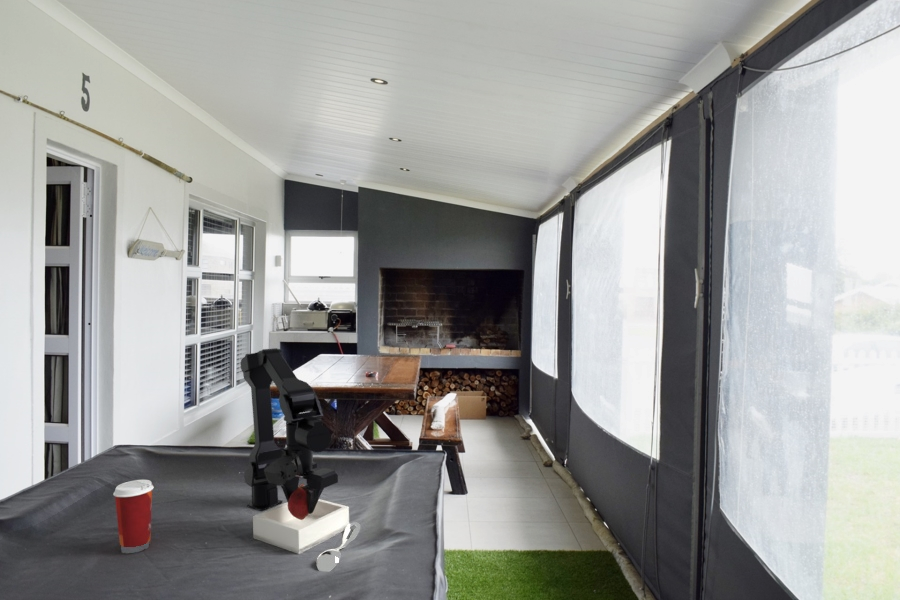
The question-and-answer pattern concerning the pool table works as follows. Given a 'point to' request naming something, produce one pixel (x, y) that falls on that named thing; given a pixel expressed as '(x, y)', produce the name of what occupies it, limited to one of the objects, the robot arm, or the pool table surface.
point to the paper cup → (134, 512)
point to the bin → (300, 526)
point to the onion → (298, 503)
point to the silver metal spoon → (336, 550)
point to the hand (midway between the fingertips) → (301, 510)
